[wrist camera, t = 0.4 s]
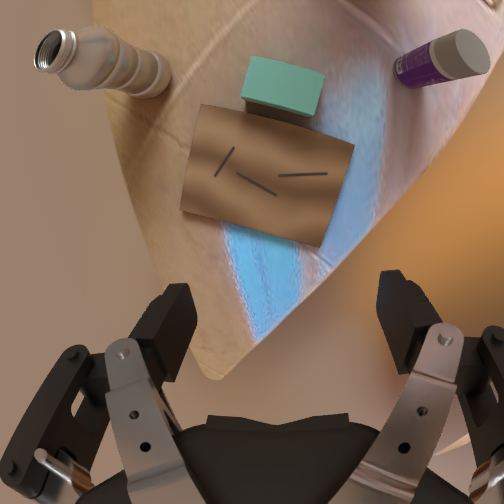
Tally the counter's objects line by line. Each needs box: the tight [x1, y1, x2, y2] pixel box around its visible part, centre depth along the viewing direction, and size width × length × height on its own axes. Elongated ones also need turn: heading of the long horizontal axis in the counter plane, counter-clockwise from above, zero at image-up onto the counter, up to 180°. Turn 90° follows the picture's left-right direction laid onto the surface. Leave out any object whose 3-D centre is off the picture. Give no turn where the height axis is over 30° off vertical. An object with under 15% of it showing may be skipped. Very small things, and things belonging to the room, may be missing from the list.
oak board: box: [179, 104, 355, 248], centre depth 33 cm, size 14×19×2 cm
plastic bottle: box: [33, 26, 171, 99], centre depth 20 cm, size 6×7×20 cm
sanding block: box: [240, 55, 326, 118], centre depth 27 cm, size 5×8×5 cm, turn 75°
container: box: [393, 29, 490, 89], centre depth 18 cm, size 5×5×15 cm
